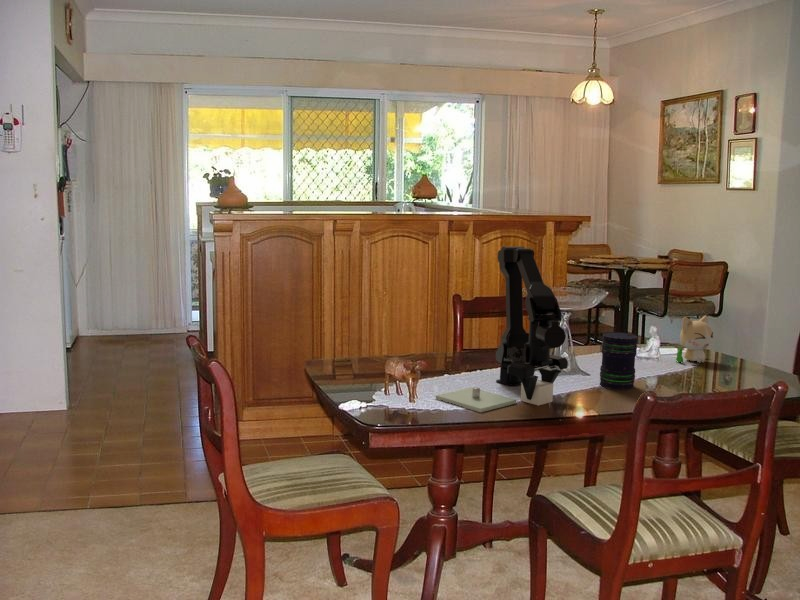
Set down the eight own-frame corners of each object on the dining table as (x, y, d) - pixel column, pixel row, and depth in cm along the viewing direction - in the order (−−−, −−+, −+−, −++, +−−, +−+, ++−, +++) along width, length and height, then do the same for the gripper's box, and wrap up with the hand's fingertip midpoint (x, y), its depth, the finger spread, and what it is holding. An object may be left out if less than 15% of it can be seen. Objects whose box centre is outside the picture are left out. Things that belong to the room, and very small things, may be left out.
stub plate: (471, 390, 233) (471, 378, 233) (516, 403, 222) (516, 390, 221) (435, 398, 224) (436, 386, 224) (480, 412, 212) (481, 399, 212)
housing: (534, 397, 229) (535, 379, 228) (552, 401, 224) (553, 383, 224) (520, 400, 225) (521, 382, 224) (538, 405, 220) (539, 386, 220)
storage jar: (609, 391, 237) (613, 339, 235) (592, 382, 246) (596, 332, 244) (641, 389, 240) (644, 338, 238) (623, 381, 249) (626, 331, 247)
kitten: (688, 366, 271) (692, 320, 269) (665, 359, 280) (668, 315, 278) (721, 362, 278) (725, 317, 276) (698, 356, 287) (701, 313, 284)
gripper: (537, 331, 234) (534, 386, 236) (493, 339, 221) (490, 396, 224) (570, 337, 226) (567, 394, 228) (526, 346, 213) (523, 405, 216)
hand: (536, 397), depth 224 cm, fingers closed on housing, 6 cm apart
